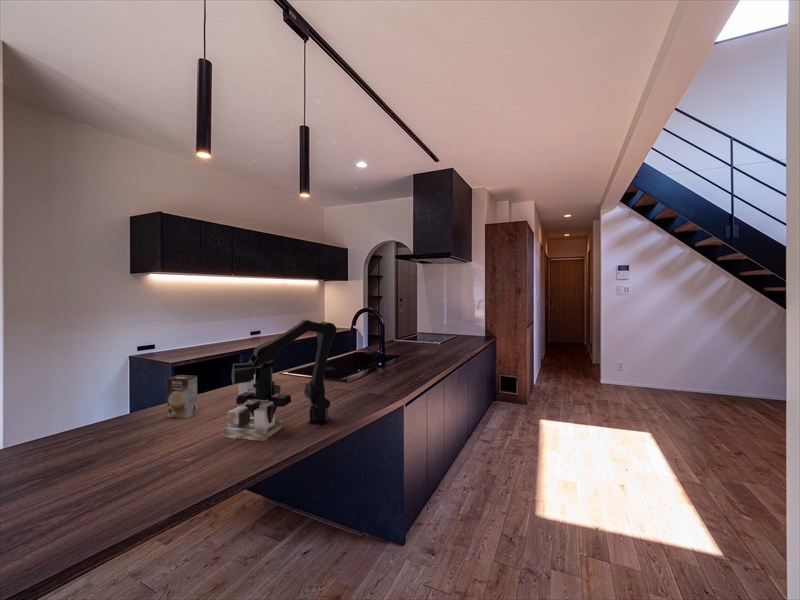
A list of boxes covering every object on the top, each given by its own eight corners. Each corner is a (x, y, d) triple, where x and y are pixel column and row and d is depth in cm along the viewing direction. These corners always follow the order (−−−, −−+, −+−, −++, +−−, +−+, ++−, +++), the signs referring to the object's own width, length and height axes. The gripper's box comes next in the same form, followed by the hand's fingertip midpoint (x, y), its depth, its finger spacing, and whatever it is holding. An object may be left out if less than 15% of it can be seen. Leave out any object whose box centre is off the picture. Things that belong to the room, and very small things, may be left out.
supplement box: (246, 407, 154) (246, 378, 154) (237, 403, 158) (237, 376, 158) (261, 402, 160) (261, 375, 159) (253, 399, 164) (252, 373, 164)
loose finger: (275, 423, 129) (274, 404, 129) (264, 431, 122) (264, 411, 122) (263, 422, 130) (263, 404, 130) (252, 430, 123) (252, 410, 123)
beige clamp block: (282, 427, 131) (282, 406, 131) (265, 441, 120) (264, 417, 119) (244, 424, 134) (243, 403, 134) (223, 437, 123) (223, 414, 122)
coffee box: (166, 417, 141) (166, 378, 140) (178, 412, 147) (177, 374, 147) (187, 418, 140) (187, 379, 140) (198, 413, 146) (198, 375, 146)
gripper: (298, 375, 132) (298, 416, 132) (253, 373, 135) (253, 413, 136) (283, 383, 121) (283, 427, 121) (235, 380, 124) (235, 423, 125)
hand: (264, 422), depth 126 cm, fingers closed on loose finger, 4 cm apart
